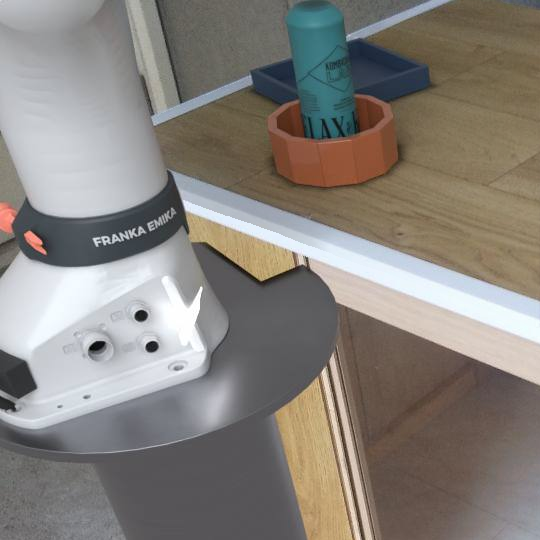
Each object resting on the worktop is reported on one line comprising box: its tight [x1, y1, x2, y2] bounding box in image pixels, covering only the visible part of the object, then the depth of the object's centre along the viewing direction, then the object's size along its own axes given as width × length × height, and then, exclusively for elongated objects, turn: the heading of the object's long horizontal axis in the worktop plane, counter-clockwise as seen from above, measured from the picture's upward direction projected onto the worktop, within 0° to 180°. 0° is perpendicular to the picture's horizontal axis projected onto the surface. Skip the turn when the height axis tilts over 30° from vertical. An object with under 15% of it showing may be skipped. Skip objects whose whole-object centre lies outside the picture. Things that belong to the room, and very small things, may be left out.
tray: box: [249, 37, 431, 106], centre depth 130 cm, size 18×16×3 cm
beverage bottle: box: [284, 0, 361, 140], centre depth 109 cm, size 6×7×20 cm
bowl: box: [267, 94, 400, 188], centre depth 114 cm, size 14×14×5 cm
